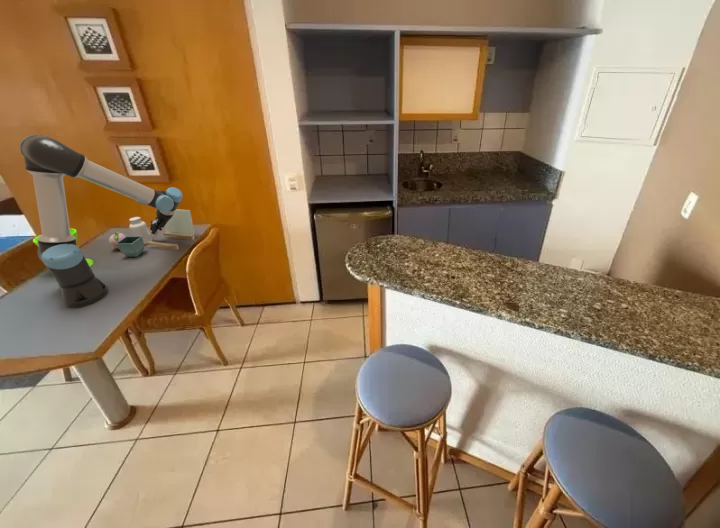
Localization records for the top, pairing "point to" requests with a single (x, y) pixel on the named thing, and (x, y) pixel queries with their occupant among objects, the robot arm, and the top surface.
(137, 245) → the flower pot
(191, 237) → the tan wooden pieces
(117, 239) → the decorative fruit
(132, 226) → the pill bottle
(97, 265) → the top surface
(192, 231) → the panel
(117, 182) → the robot arm
